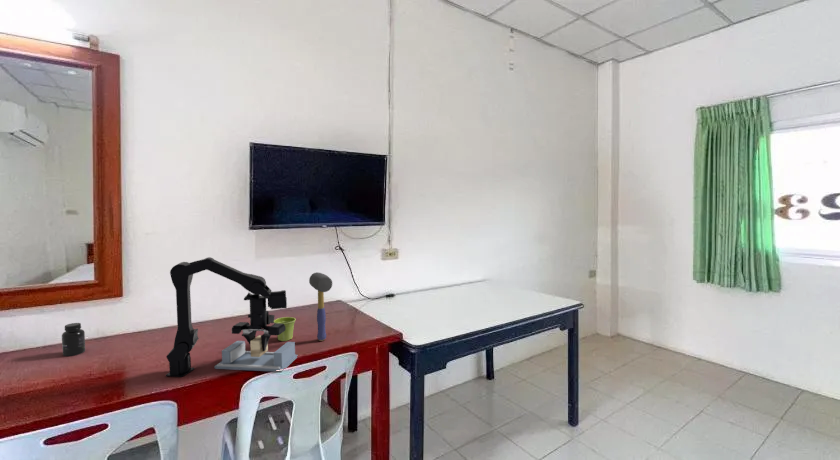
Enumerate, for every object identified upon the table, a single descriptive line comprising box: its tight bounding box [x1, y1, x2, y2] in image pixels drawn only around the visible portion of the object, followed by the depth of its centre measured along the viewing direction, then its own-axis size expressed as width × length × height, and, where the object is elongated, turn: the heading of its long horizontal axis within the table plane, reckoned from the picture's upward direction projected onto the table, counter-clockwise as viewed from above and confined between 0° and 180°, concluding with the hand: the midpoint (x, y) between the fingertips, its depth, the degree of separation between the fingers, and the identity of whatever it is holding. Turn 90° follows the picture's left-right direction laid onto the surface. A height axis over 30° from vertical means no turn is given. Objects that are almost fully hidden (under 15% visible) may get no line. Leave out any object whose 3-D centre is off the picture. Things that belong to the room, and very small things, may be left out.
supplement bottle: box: [61, 322, 86, 357], centre depth 151 cm, size 7×7×12 cm
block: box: [249, 334, 269, 357], centre depth 142 cm, size 6×4×6 cm, turn 174°
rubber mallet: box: [308, 272, 333, 342], centre depth 165 cm, size 12×8×30 cm, turn 33°
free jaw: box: [221, 340, 247, 364], centre depth 143 cm, size 10×4×5 cm, turn 174°
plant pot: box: [273, 316, 297, 342], centre depth 167 cm, size 9×9×9 cm
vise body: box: [214, 341, 298, 372], centre depth 142 cm, size 13×26×6 cm, turn 84°
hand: (259, 350), depth 142 cm, fingers closed on block, 3 cm apart
